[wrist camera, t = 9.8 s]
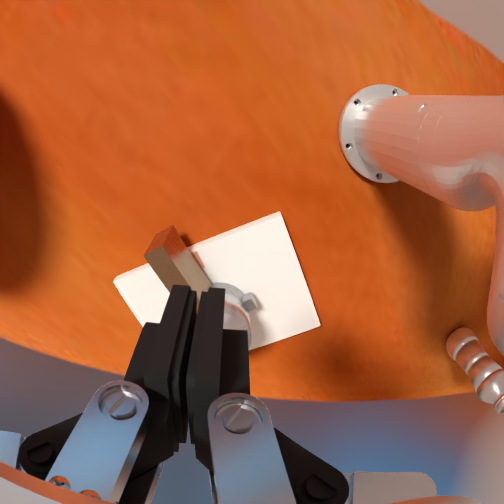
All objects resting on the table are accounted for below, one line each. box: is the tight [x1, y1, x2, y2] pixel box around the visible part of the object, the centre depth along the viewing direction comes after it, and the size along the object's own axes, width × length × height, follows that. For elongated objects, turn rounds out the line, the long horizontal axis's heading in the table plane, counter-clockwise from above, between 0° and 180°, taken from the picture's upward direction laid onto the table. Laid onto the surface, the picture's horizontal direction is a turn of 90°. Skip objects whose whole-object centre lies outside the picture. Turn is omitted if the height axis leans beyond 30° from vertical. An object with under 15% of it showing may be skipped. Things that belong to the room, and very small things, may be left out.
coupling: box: [144, 225, 257, 350], centre depth 37 cm, size 17×10×7 cm, turn 27°
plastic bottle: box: [446, 327, 504, 414], centre depth 42 cm, size 6×7×20 cm
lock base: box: [113, 211, 321, 351], centre depth 43 cm, size 24×18×2 cm
